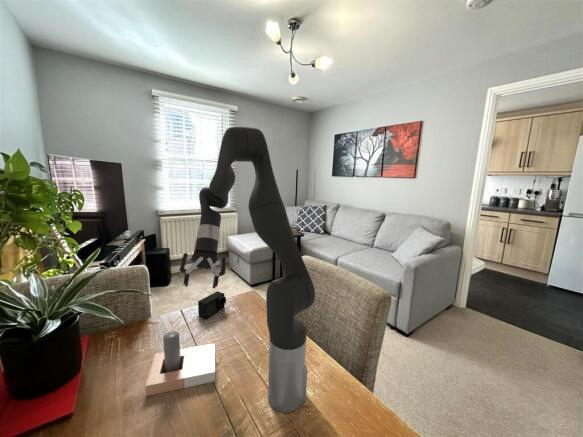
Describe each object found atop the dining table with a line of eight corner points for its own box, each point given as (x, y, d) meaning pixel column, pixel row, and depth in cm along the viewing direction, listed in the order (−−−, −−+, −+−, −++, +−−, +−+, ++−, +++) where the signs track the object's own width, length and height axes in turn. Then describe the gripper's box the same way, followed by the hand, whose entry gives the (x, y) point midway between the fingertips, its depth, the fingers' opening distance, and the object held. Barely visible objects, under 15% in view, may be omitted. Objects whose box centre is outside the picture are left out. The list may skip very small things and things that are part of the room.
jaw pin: (181, 366, 72) (180, 330, 70) (180, 377, 69) (178, 339, 67) (166, 369, 71) (164, 332, 69) (164, 380, 67) (162, 341, 65)
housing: (214, 351, 79) (214, 343, 78) (215, 381, 68) (215, 371, 67) (155, 362, 74) (155, 353, 73) (146, 396, 62) (145, 386, 62)
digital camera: (207, 321, 95) (207, 304, 94) (198, 317, 98) (197, 301, 97) (226, 309, 104) (226, 294, 103) (217, 305, 107) (217, 290, 106)
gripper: (186, 233, 79) (176, 284, 73) (230, 239, 85) (224, 287, 79) (185, 239, 86) (176, 287, 80) (226, 244, 91) (220, 289, 85)
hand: (200, 287), depth 79 cm, fingers open, 8 cm apart
